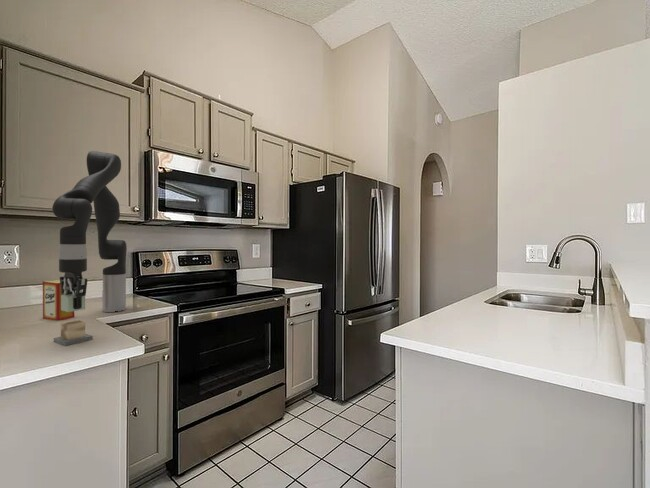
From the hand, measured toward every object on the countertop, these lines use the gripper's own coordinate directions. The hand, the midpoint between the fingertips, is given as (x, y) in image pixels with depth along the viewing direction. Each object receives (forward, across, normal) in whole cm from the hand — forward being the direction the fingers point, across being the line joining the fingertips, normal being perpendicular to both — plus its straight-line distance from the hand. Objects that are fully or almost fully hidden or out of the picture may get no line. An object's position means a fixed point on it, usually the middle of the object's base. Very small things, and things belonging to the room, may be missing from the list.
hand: (73, 307), depth 111 cm
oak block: (+10, 0, 0) cm, 10 cm away
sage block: (+1, 0, 0) cm, 1 cm away
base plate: (+11, 0, 0) cm, 11 cm away
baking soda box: (+11, +39, -11) cm, 42 cm away
